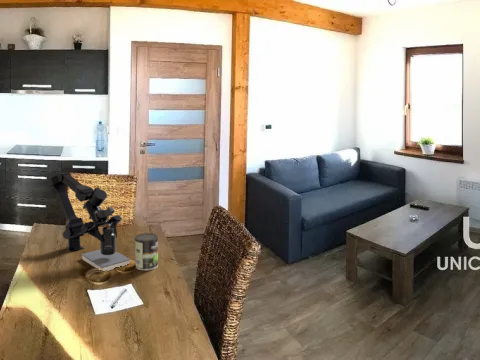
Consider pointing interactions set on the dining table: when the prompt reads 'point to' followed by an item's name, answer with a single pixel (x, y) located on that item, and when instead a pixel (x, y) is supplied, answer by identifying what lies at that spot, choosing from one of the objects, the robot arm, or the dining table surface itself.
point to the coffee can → (146, 251)
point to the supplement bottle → (108, 241)
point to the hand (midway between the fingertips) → (109, 239)
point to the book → (105, 260)
